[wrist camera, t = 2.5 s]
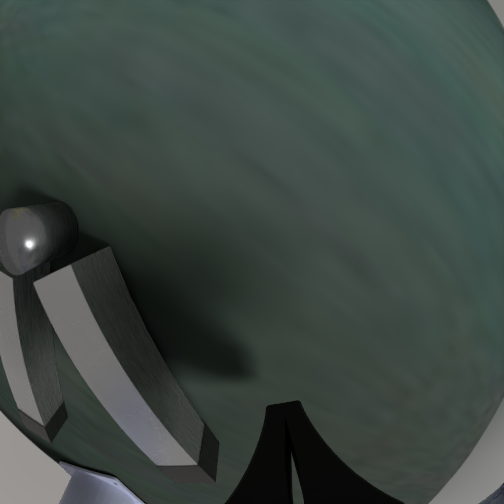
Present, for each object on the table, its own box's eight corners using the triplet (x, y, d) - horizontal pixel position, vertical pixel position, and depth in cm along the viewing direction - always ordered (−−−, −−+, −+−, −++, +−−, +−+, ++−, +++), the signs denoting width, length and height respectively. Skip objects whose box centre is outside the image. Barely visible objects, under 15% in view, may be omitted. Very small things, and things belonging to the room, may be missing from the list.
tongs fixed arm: (27, 191, 10) (-19, 196, 7) (81, 208, 10) (32, 217, 7) (43, 402, 13) (23, 428, 10) (86, 427, 14) (68, 457, 10)
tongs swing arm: (72, 262, 11) (31, 283, 8) (111, 245, 10) (70, 264, 7) (183, 446, 13) (175, 483, 10) (219, 442, 13) (215, 482, 10)
